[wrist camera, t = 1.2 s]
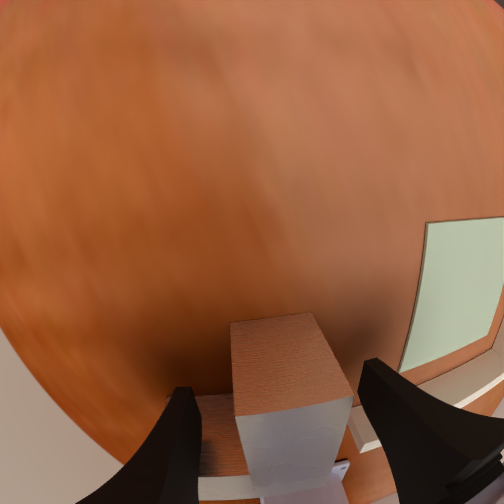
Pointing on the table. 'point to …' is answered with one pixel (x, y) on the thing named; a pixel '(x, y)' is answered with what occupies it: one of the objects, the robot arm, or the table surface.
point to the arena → (444, 389)
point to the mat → (455, 288)
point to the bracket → (274, 412)
